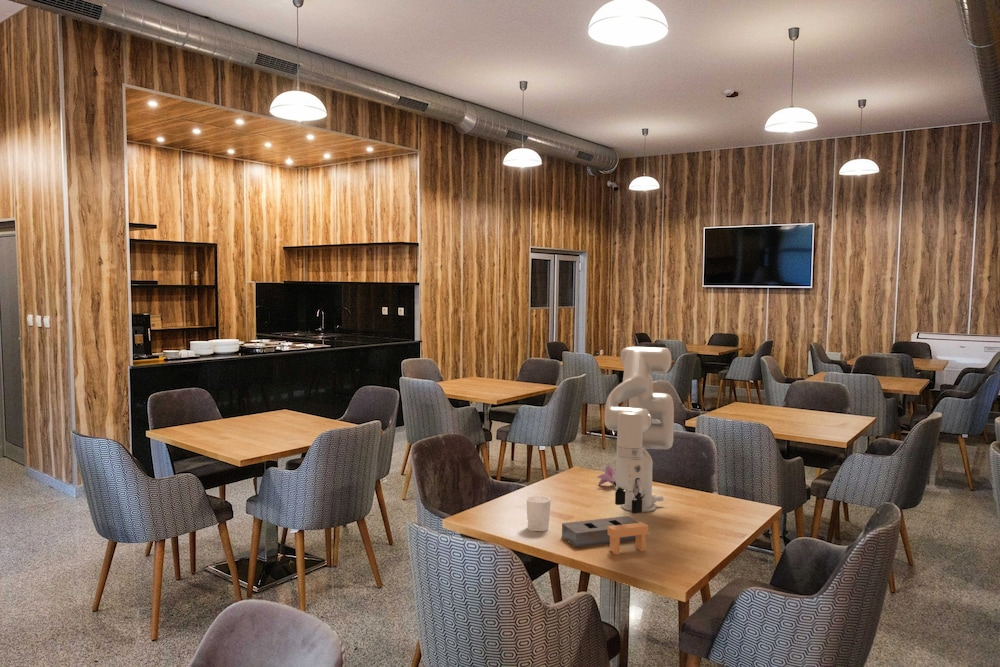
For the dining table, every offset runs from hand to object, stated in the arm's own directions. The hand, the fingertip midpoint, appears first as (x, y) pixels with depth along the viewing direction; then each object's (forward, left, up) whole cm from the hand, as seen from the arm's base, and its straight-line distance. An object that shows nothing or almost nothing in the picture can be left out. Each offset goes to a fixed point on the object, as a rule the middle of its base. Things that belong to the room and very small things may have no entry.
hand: (628, 508), depth 213 cm
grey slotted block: (+2, -12, -13) cm, 18 cm away
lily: (-30, -65, -13) cm, 73 cm away
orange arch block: (0, 0, -13) cm, 13 cm away
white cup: (+18, -27, -13) cm, 35 cm away
